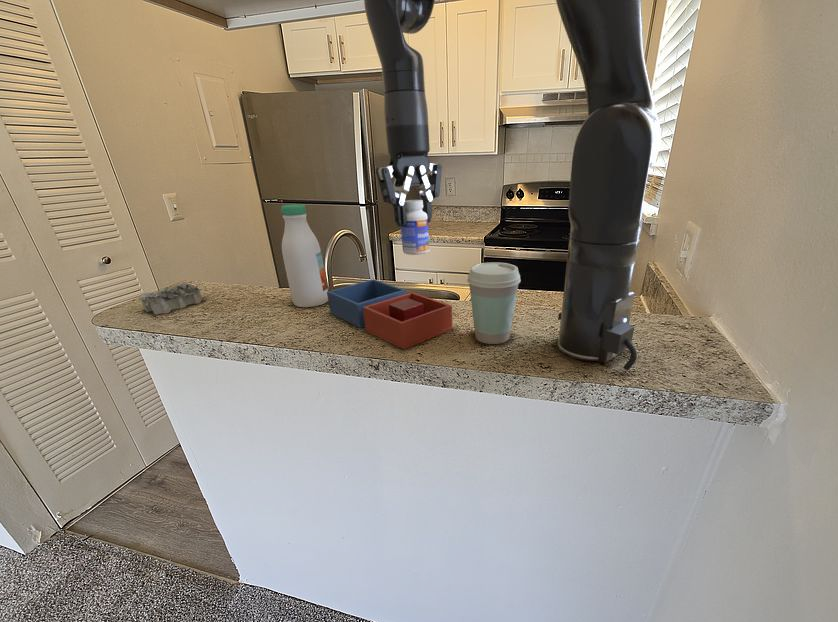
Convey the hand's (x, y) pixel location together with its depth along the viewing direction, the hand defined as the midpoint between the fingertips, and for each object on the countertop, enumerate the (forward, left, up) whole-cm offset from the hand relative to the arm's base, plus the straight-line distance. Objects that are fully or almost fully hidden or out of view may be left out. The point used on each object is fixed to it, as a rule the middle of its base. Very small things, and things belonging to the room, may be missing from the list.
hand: (414, 223), depth 79 cm
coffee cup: (-23, +3, -16) cm, 28 cm away
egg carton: (+39, +38, -16) cm, 57 cm away
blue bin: (+3, +11, -16) cm, 20 cm away
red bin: (-10, +11, -16) cm, 22 cm away
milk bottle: (+18, +16, -16) cm, 29 cm away
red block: (-10, +11, -16) cm, 21 cm away
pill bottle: (0, 0, -6) cm, 6 cm away
